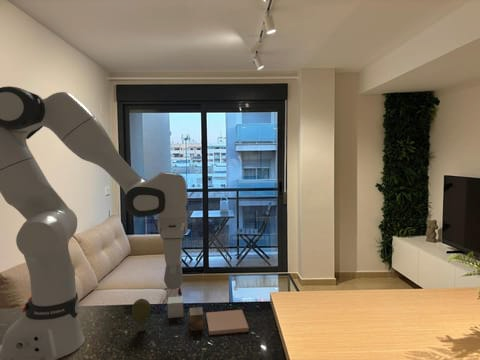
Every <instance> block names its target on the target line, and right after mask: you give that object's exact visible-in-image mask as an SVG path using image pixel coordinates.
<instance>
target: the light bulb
mask: <svg viewBox="0 0 480 360" xmlns="http://www.w3.org/2000/svg"><path fill="white" fill-rule="evenodd" d="M151 310H152V306H151V303H150V302H149V301H148V300H147V299H145V298H139V299H137V300H135V302H133V304H132V307H131V313H132V315H133V317H134V319H135V321H136V325H137V330H138V331H139V332H144V331H145V330H146V329H147V321H148V319H149V315H150V313H151Z"/></svg>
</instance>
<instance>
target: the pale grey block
mask: <svg viewBox="0 0 480 360" xmlns="http://www.w3.org/2000/svg"><path fill="white" fill-rule="evenodd" d="M183 317H184V296H182V295H181V296H180V295H179V296H168V297H167V319H173V318H183Z"/></svg>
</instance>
